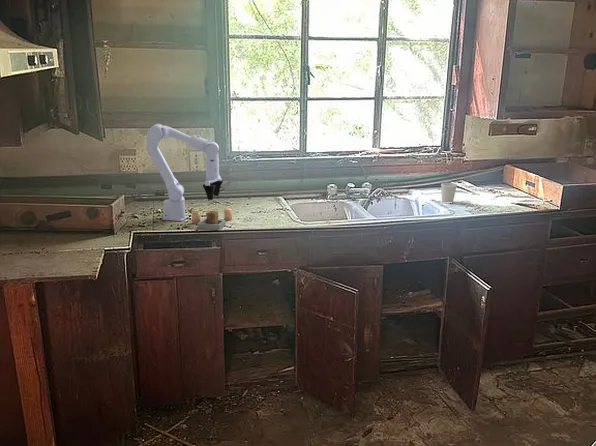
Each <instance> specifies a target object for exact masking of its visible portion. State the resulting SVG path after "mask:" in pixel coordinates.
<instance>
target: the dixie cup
mask: <svg viewBox="0 0 596 446" xmlns="http://www.w3.org/2000/svg"><path fill="white" fill-rule="evenodd" d="M440 185H441V186H440V187H441V189H440V190H441V202H442V201H443V202H453V203H454V199H455V195H456V190H457V187H458V184H457V183H455V182H454V183H453V182H442V183H441V184H440Z"/></svg>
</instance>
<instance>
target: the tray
mask: <svg viewBox="0 0 596 446" xmlns="http://www.w3.org/2000/svg"><path fill="white" fill-rule="evenodd" d="M224 227H226V220H224V219H218V225H217V224H207V220H206V218H203V219H202V220H200V222H199V223H198V224H197V229H201V230H209V231H210V230H212V231H220V230H222V229H223V228H224Z"/></svg>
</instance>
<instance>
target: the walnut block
mask: <svg viewBox="0 0 596 446" xmlns="http://www.w3.org/2000/svg"><path fill="white" fill-rule="evenodd" d="M205 214H206V218H205V219H206V220H207V224H217V225H218V220H219V210H209V211H207V212H206V213H205Z"/></svg>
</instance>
